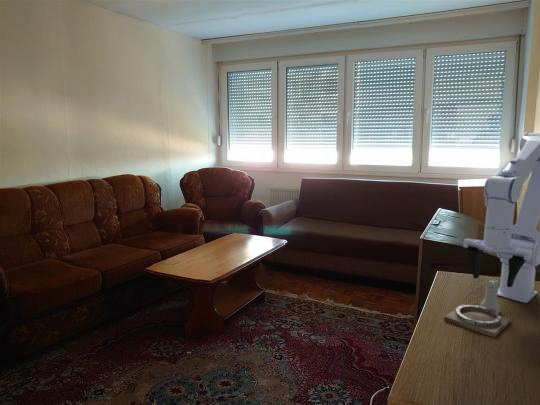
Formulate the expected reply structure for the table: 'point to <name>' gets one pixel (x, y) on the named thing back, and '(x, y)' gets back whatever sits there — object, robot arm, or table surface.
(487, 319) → the socket board
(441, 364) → the table surface
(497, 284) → the rook chess piece
